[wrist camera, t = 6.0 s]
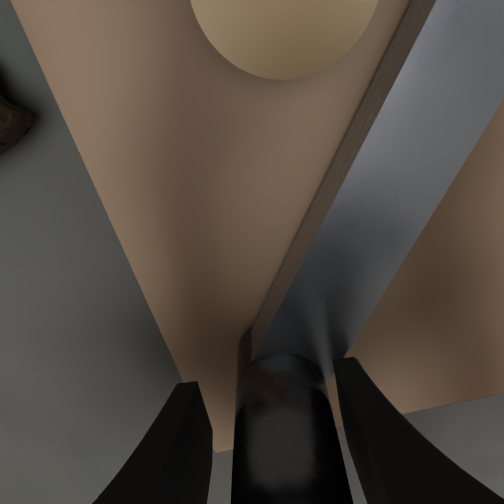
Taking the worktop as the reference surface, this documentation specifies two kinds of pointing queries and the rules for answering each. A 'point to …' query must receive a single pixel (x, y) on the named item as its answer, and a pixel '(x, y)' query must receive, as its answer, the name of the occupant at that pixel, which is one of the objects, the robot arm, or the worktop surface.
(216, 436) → the board
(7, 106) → the hand tool
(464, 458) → the worktop surface
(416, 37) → the lever
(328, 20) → the beige cylinder plug
